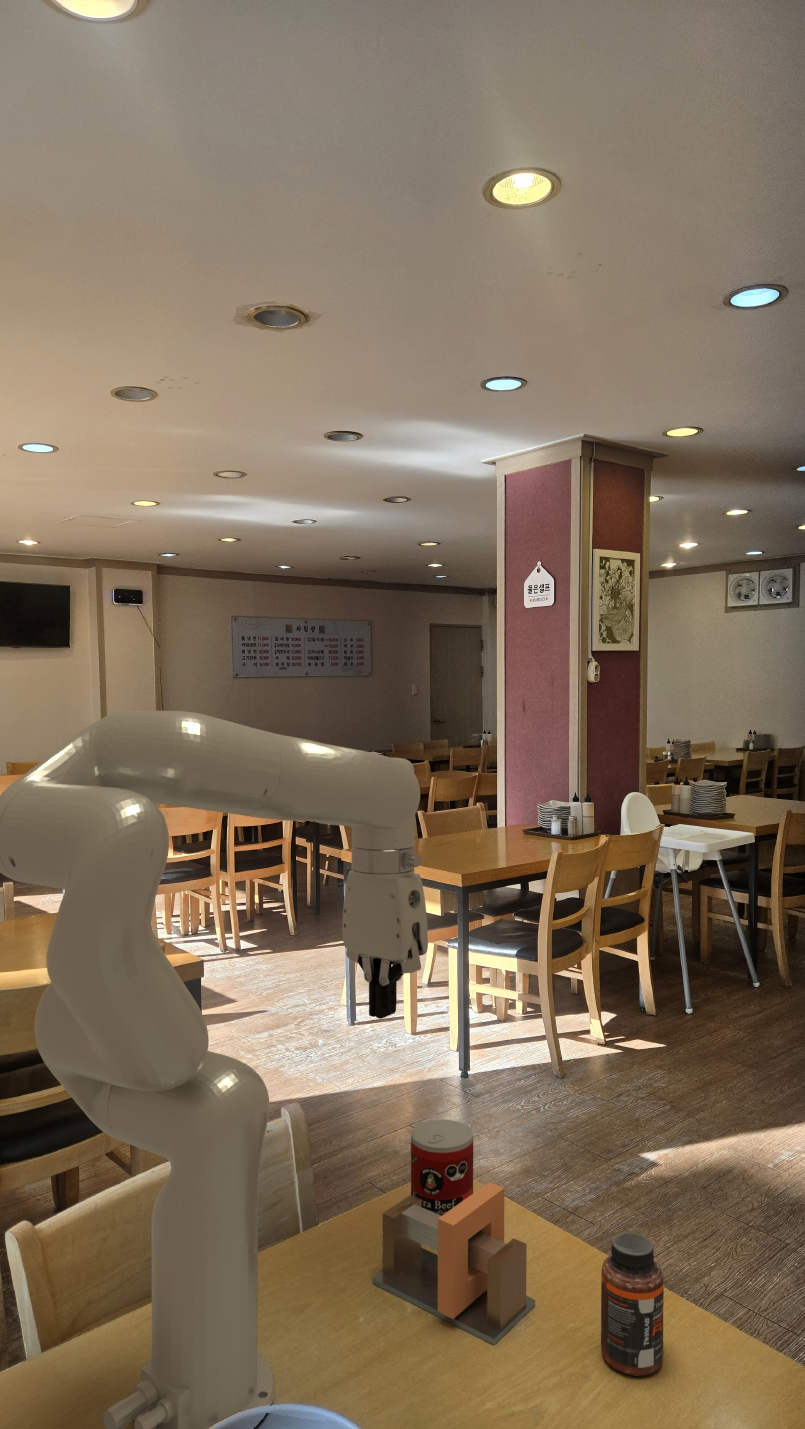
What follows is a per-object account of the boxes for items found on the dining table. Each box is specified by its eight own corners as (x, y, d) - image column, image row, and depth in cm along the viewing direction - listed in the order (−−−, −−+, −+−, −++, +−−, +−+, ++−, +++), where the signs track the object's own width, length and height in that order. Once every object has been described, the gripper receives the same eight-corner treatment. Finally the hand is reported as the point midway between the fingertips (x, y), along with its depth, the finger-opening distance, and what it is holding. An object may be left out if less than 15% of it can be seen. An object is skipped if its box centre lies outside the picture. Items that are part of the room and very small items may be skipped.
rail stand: (372, 1282, 103) (372, 1216, 103) (416, 1250, 109) (417, 1187, 109) (494, 1345, 93) (494, 1271, 93) (535, 1305, 99) (535, 1236, 99)
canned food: (401, 1230, 113) (401, 1140, 113) (424, 1198, 121) (425, 1114, 121) (460, 1244, 110) (460, 1152, 110) (481, 1211, 118) (481, 1124, 118)
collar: (437, 1310, 96) (437, 1218, 96) (488, 1267, 104) (489, 1182, 104) (453, 1318, 95) (453, 1225, 95) (504, 1274, 103) (504, 1187, 103)
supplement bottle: (665, 1384, 88) (666, 1264, 88) (601, 1374, 89) (601, 1256, 89) (661, 1341, 94) (661, 1229, 94) (600, 1333, 95) (601, 1223, 95)
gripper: (452, 863, 109) (451, 1019, 109) (356, 851, 119) (356, 995, 119) (412, 872, 103) (412, 1037, 104) (315, 858, 113) (315, 1009, 113)
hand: (382, 1014), depth 111 cm, fingers closed
